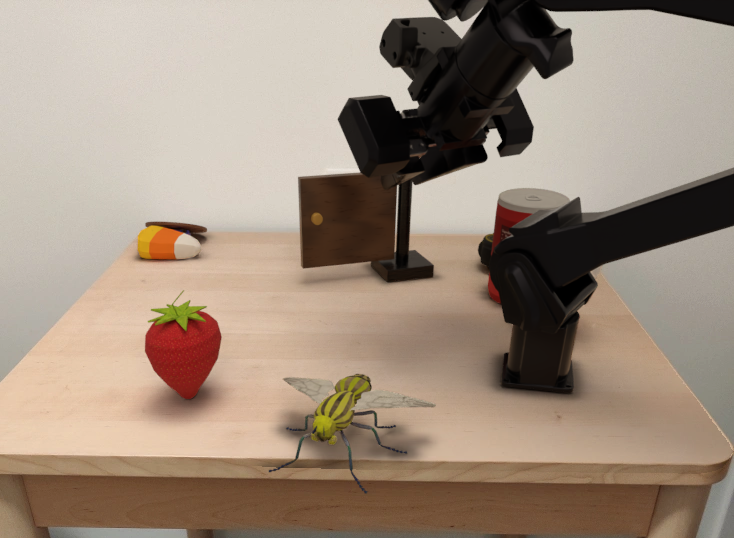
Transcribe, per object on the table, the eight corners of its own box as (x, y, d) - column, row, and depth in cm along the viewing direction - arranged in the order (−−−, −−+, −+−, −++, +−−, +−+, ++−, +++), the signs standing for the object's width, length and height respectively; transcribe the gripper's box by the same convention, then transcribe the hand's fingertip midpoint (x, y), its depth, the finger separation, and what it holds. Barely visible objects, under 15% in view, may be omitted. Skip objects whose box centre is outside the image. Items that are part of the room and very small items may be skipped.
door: (391, 256, 92) (394, 169, 86) (396, 261, 91) (400, 173, 85) (300, 266, 89) (297, 176, 83) (304, 271, 88) (302, 180, 82)
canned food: (534, 281, 91) (549, 185, 84) (566, 306, 84) (584, 205, 78) (475, 286, 89) (486, 189, 82) (503, 312, 83) (516, 209, 76)
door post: (414, 261, 96) (420, 160, 89) (433, 277, 91) (440, 172, 84) (370, 266, 94) (372, 164, 87) (387, 282, 90) (391, 176, 83)
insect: (439, 425, 63) (444, 371, 60) (399, 502, 54) (402, 445, 51) (295, 397, 66) (292, 345, 63) (237, 466, 58) (231, 410, 55)
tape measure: (542, 267, 95) (546, 237, 93) (515, 281, 91) (519, 250, 88) (495, 255, 98) (498, 226, 96) (467, 269, 94) (470, 238, 92)
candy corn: (133, 261, 95) (193, 270, 94) (130, 239, 93) (191, 247, 92) (152, 242, 100) (210, 250, 99) (149, 220, 98) (208, 228, 97)
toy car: (137, 220, 97) (137, 232, 97) (199, 223, 97) (199, 235, 97) (155, 228, 105) (155, 239, 105) (212, 231, 104) (212, 242, 105)
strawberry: (240, 384, 68) (231, 277, 63) (199, 424, 63) (184, 310, 57) (183, 374, 70) (169, 268, 64) (138, 411, 64) (117, 299, 58)
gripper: (530, -22, 65) (440, 102, 79) (350, -20, 56) (285, 119, 70) (582, 93, 64) (482, 198, 78) (408, 112, 56) (330, 226, 70)
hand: (398, 183), depth 74 cm, fingers open, 3 cm apart
